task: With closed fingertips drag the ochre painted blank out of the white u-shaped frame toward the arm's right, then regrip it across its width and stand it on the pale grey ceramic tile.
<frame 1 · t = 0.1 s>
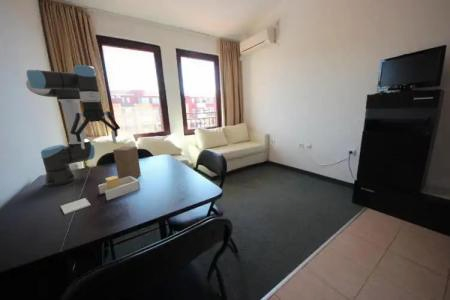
hand: (100, 145, 93), 28 cm above the table, fingers open, 13 cm apart
blank: (114, 193, 104), on the table
wooden block: (130, 177, 127), on the table
tile: (75, 206, 92), on the table
white u-shaped frame: (120, 191, 106), on the table
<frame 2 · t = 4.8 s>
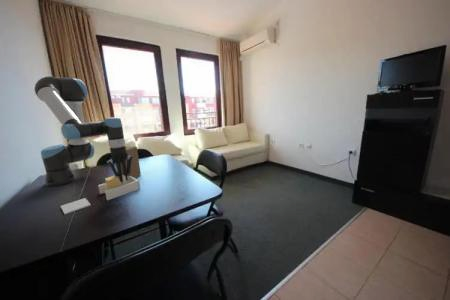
hand: (124, 186, 108), 2 cm above the table, fingers closed
blank: (114, 193, 104), on the table, touching gripper
everything else where it was.
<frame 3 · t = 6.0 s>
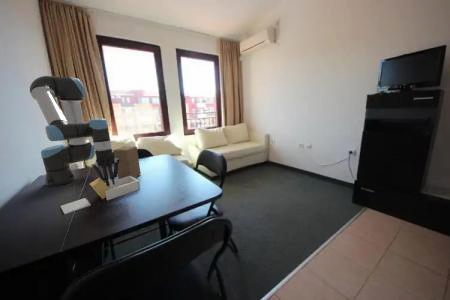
hand: (111, 190, 103), 2 cm above the table, fingers closed
blank: (105, 194, 101), point 1 cm above the table, tilted 21°, touching gripper
everything else where it was.
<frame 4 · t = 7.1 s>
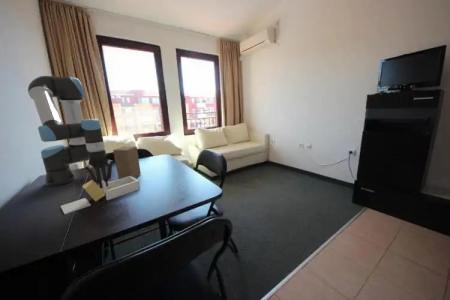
hand: (105, 192, 100), 2 cm above the table, fingers closed
blank: (99, 196, 98), point 1 cm above the table, tilted 21°, touching gripper
everything else where it was.
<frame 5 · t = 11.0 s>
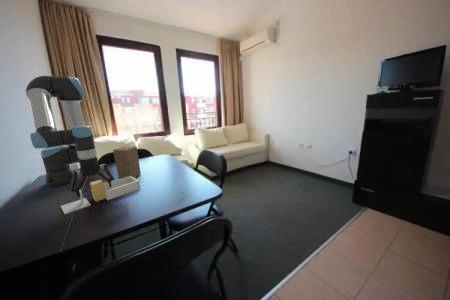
hand: (96, 197, 98), 1 cm above the table, fingers open, 11 cm apart
blank: (100, 198, 99), on the table
everything else where it was.
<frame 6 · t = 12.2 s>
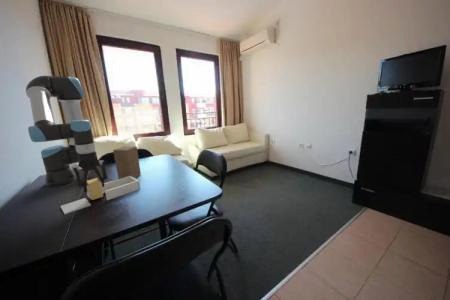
hand: (95, 194, 98), 2 cm above the table, fingers closed on blank, 5 cm apart
blank: (96, 196, 98), point 1 cm above the table, touching gripper
everything else where it was.
when the fingers open (1 cm above the table, at t = 16.5 s): blank stays where it is, resting on tile.
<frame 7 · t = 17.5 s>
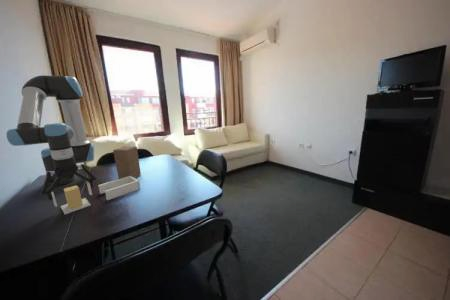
hand: (74, 199, 91), 3 cm above the table, fingers open, 13 cm apart
blank: (75, 205, 91), point 1 cm above the table, touching tile
everything else where it was.
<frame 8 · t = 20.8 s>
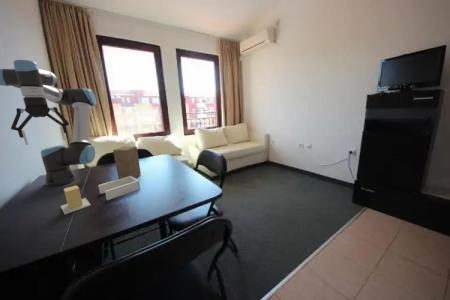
hand: (46, 141, 92), 31 cm above the table, fingers open, 13 cm apart
nothing on the table moved.
at the end: blank inside the target area on the tile (0.3 cm from its centre), point 0.6 cm above the tile's base; blank tilted 0°; the gripper is holding nothing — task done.
